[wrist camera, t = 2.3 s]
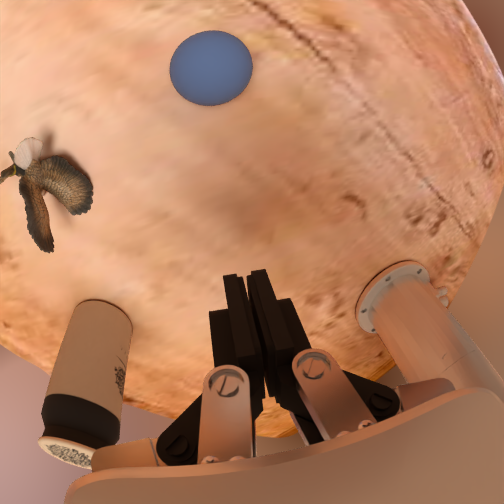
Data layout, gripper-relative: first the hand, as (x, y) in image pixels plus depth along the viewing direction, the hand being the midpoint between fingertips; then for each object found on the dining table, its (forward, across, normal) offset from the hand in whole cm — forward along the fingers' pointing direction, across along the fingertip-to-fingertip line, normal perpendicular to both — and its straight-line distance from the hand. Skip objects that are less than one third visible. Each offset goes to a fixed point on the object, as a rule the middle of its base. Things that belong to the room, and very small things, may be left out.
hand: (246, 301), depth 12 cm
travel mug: (+17, +17, +15) cm, 28 cm away
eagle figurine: (+17, +16, -3) cm, 23 cm away
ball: (+13, 0, -10) cm, 17 cm away
